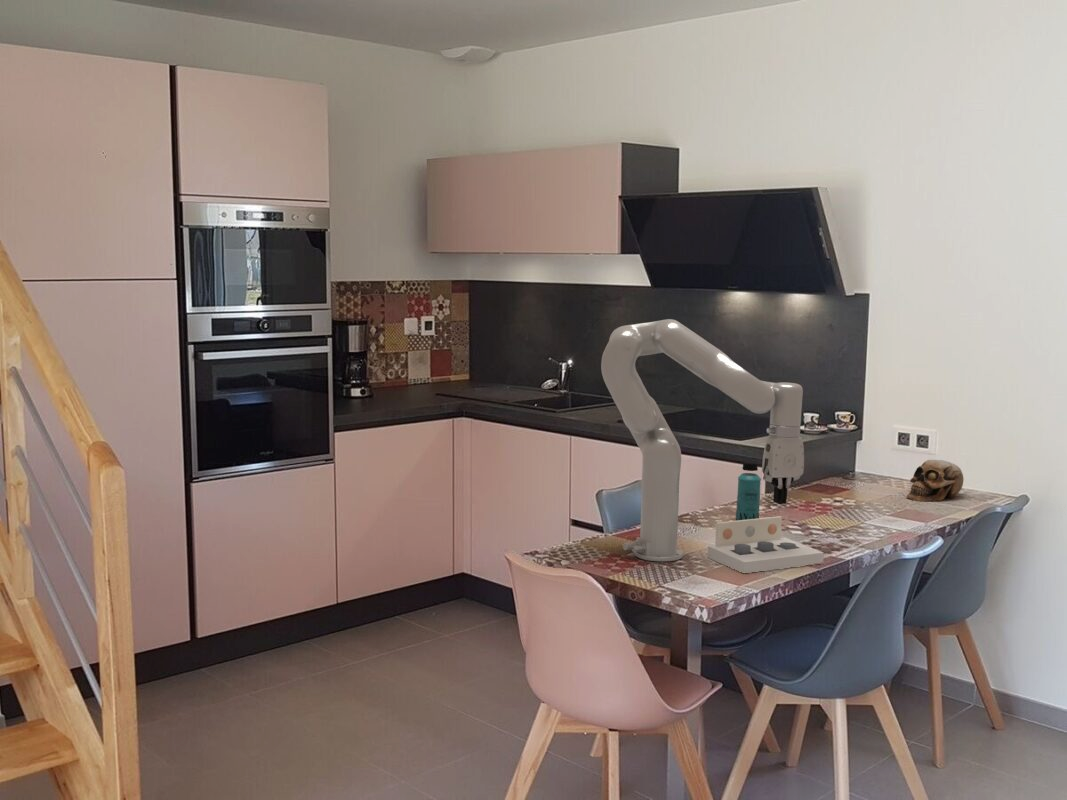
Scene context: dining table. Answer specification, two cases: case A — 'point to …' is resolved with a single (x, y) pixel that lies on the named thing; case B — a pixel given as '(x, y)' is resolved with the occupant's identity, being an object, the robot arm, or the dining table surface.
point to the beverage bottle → (748, 493)
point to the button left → (742, 549)
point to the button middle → (765, 546)
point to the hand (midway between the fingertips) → (779, 502)
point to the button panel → (751, 535)
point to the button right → (787, 545)
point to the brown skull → (936, 481)
